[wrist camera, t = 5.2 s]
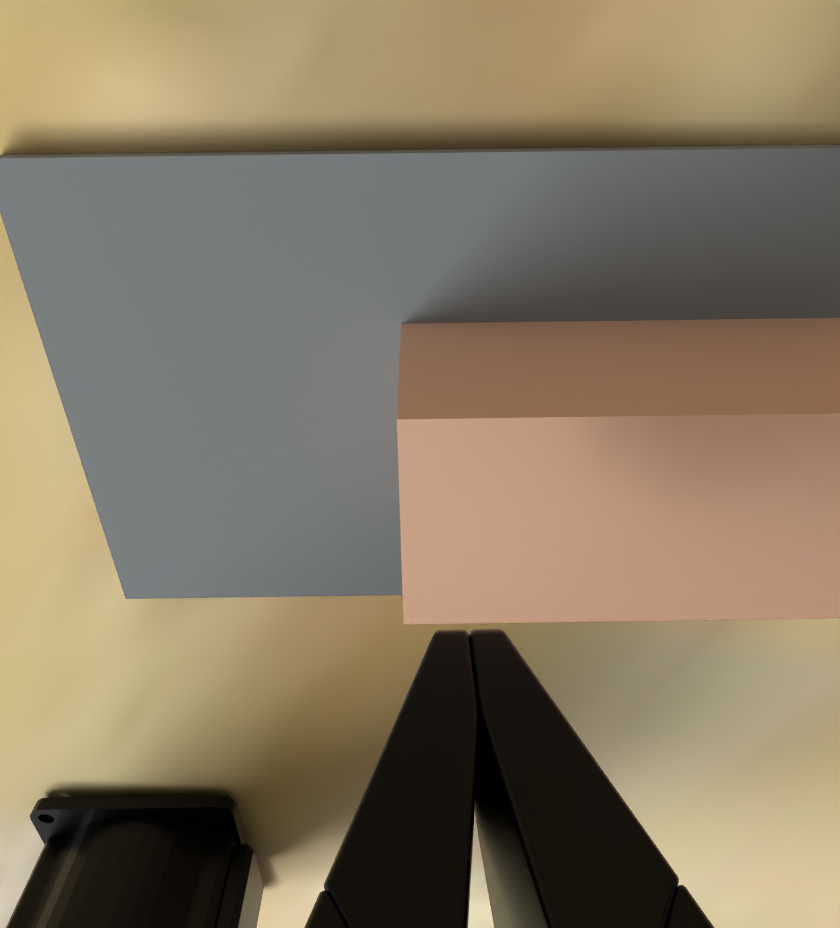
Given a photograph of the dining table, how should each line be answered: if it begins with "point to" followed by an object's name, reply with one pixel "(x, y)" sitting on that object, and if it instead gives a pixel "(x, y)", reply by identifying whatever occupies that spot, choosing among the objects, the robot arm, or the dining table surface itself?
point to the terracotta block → (619, 470)
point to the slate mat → (356, 318)
